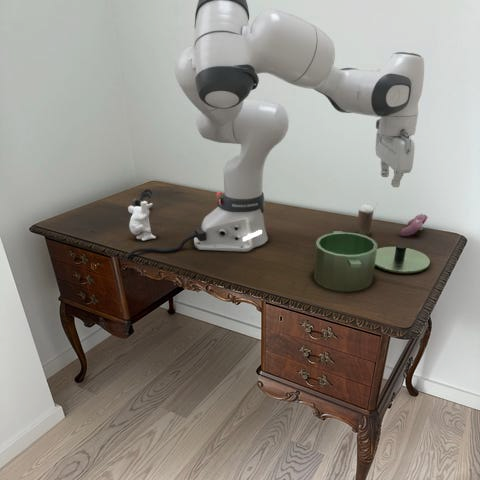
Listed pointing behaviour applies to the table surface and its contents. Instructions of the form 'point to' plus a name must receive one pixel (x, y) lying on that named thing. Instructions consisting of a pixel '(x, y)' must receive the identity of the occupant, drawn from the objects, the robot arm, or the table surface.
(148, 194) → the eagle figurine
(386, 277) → the table surface
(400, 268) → the lid
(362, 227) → the milkshake
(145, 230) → the koala figurine
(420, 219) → the video game controller
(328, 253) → the pot
